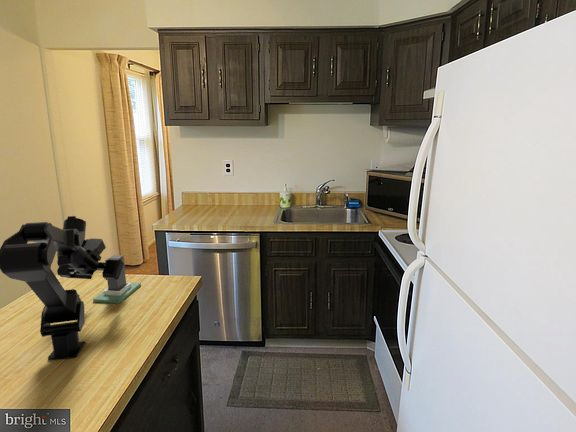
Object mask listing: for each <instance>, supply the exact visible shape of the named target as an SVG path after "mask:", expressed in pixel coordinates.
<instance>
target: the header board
mask: <svg viewBox="0 0 576 432" xmlns="http://www.w3.org/2000/svg"><path fill="white" fill-rule="evenodd" d="M141 286H142V284H141V282H130V281H129V282H127V281H126V286H125V287H124V288H122V289H121V290H120V291H111V290H108V287H107V288H105V289H104V290H103V291H102V292H101V293H100V294H98V295H96V296H95V297H94V298H92V302H93V303H104V304H121V303H122V302H124V300H125V299H127V298H128V297H129V296H131V294H133V293H134V292H135V291H136V290H138V288H140V287H141Z"/></svg>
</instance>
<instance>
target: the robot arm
mask: <svg viewBox="0 0 576 432" xmlns="http://www.w3.org/2000/svg"><path fill="white" fill-rule="evenodd" d="M86 227H87V221H86V220H83V219H82V218H78V217H77V216H75V215H71V216H68V215H67V218H66V219H64V221H63V225H62V228H59V227H58V226H54V225H53V224H52V223H51V222H47V221H45V222H44V221H43V222H42V221H41V222H39V221H38V222H26V223H24V224H21V227H20V229H19V230H18V231H17V232H15V233H13V235H11V236H9V237H8V238H6V239H5V240H4V241H3V243H2V245H1V246H0V271H1V273H2V274H3V275H5V276H7V277H8V278H10V279H11V280H15V281H16V280H18V281H22V282H25V283H26V284H27V286H28V287H29V288H30V289H31V291H32V292H33V293H34V294H35V295H36V296H37V298H38V299H39V300H40V301H41V302H42V304H43V308H42V311H41V317H40V329H39V333H40V336H41V337H42V338H45V337H49V336H51V343H52V351H51V353H50V354H49V355H48V357H47V359H48V360H49V361H50V360H60V359H61V360H62V359H73V358H76V357H78V356H79V354H80V352H81V351H82V349H83V348H84V346H85V345H86V341H85V340H84V341H80V336H79V332H81V331H82V329H83V328H84V325H85V323H86V320H85V319H86V318H85V315H86V314H85V303H84V300H82V299H81V297H80V294H79V293H78V290H76V289H73V288H72V289H65V288H64V287H63V285H62V284H61V282H60V281H59V279H58V277H61V278H66V279H79V280H81V279H83V280H92V279H93V276H94V273H95V272H97V271H102V272H101V273H102V278H104V279H105V280H106V281H107V280H115V281H118V280H119V276H120V274H121V271H122V268H123V265H124V266H125V261H124V262H123V261H122V260H121V259H116V258H110V257H109V258H110V259H108V258H107V259H108V260H107V262H106V263H105V261H104V262H101V259H102V256H101V254H102V253H103V252H104V250H106V244H105V242H104V240H103V239H102V238H88V239H86V230H87V228H86ZM29 242H30V243H29ZM31 242H32V243H31ZM56 256H57V262H56V263H57V266H58V268H57V271H56V273H57V276H58V277H56V274H55V273H54V272H53V270H52V269H51V268H52V264H53V262H54V259H55V257H56Z"/></svg>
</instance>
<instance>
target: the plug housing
mask: <svg viewBox="0 0 576 432" xmlns="http://www.w3.org/2000/svg"><path fill="white" fill-rule="evenodd" d="M110 258H116V259H121V260H122V261H123V262H124V263H125V259H124V258H125V257H124V255H123V254H122V255H119V254H117V255H116V254H114V255H112V256H110V257H108V258H106V259H105V260H104V263H106V262H107V260H108V259H110ZM125 267H126V266H125V264H124V265H123V268H122V271H121V274H120V276H119V280H118V281H115V280H106V281H107V288H108V290H111V291H120V290H121V289H122V288H124V287H125V286H126V282H127V278H126V277H127V276H126V268H125Z"/></svg>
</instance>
